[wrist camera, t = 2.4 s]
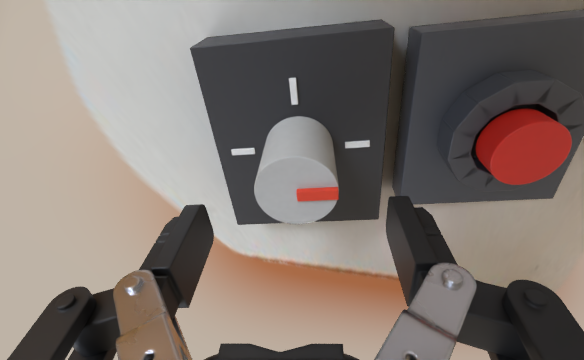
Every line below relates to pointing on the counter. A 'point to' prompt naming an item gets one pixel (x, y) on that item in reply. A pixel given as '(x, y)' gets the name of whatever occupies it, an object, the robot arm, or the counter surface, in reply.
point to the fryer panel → (300, 105)
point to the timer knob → (297, 172)
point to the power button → (523, 146)
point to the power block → (484, 101)
